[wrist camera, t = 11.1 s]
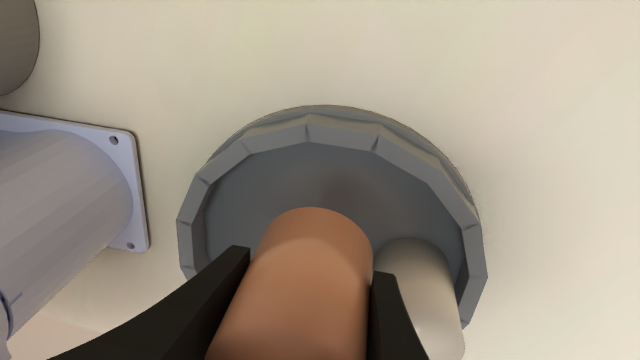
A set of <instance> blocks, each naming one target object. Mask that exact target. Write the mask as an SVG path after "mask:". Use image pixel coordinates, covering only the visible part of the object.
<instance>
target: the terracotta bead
mask: <svg viewBox="0 0 640 360" xmlns="http://www.w3.org/2000/svg"><path fill="white" fill-rule="evenodd" d="M372 265H373V252H372V248H371V245H370V242H369V240H368V238H367V237H366V235H365V233H364V232H363V231H362V230H361V228H360V227H359V226H358V225H357V224H355V223H354V222H353V221H352V220H350V219H349V218H347V217H345V216H344V215H342V214H340V213H337V212H335V211H332V210H329V209H324V208H318V207H302V208H296V209H292V210H289V211H287V212H284V213H283V214H281V215H279V216H278V217H276V218H275V219H274V220H273V221H272V222H271V223H270V224H269V226H268V227H267V229H266V230H265V232H264V235H263V237H262V239H261V241H260V243H259V245H258V247H257V249H256V251H255V253H254V255H253V257H252V259H251V261H250V263H249V266H248V268H247V270H246V272H245V274H244V276H243V278H242V280H241V282H240V284H239V286H238V288H237V290H236V292H235V294H234V297H233V299H232V301H231V303H230V305H229V307H228V309H227V311H226V313H225V315H224V317H223V319H222V321H221V323H220V325H219V328H218V330H217V332H216V334H215V336H214V338H213V340H212V342H211V344H210V346H209V348H208V350H207V353H206V355H205V359H204V360H366V352H367V337H368V323H369V306H370V291H371V279H372Z"/></svg>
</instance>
